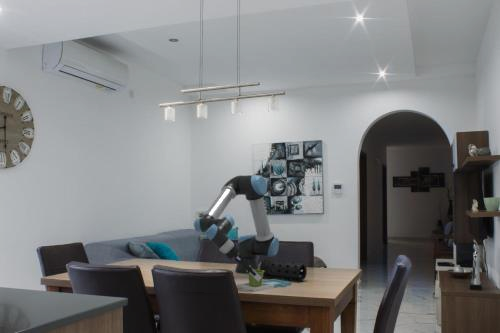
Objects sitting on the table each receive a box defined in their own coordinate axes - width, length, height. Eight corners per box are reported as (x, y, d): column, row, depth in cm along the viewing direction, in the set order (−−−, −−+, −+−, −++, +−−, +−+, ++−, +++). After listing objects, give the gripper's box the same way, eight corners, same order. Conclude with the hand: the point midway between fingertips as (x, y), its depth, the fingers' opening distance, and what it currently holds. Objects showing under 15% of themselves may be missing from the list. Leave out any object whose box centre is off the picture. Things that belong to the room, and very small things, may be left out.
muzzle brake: (298, 283, 279) (298, 264, 279) (257, 278, 295) (256, 260, 295) (307, 280, 286) (307, 262, 287) (265, 276, 302) (265, 259, 303)
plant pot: (268, 287, 265) (268, 271, 265) (254, 289, 259) (254, 272, 259) (256, 285, 272) (256, 269, 272) (243, 287, 266) (242, 270, 266)
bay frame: (234, 286, 267) (234, 284, 267) (270, 281, 285) (270, 278, 285) (257, 291, 254) (257, 288, 254) (293, 285, 271) (293, 282, 271)
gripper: (222, 251, 276) (250, 278, 277) (226, 257, 252) (256, 286, 253) (232, 241, 277) (259, 268, 278) (236, 246, 253) (266, 275, 254)
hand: (258, 277), depth 265 cm, fingers open, 13 cm apart
